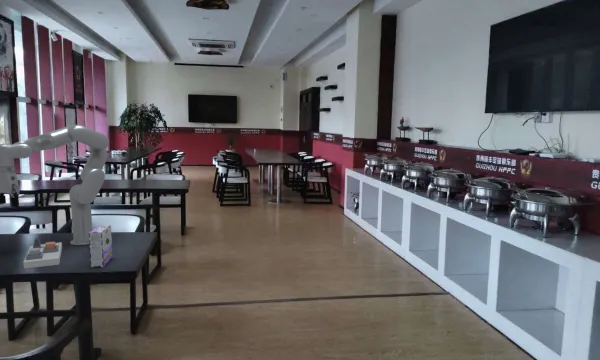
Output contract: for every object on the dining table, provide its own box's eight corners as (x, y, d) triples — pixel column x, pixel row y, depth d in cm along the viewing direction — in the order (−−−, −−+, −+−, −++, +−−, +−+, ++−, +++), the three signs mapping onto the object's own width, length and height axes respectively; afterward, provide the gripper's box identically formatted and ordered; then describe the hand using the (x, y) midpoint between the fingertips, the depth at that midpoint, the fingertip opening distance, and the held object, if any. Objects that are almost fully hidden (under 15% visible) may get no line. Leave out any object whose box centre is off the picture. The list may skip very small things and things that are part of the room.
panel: (62, 248, 237) (61, 239, 237) (59, 264, 210) (58, 254, 210) (31, 251, 231) (30, 242, 231) (23, 268, 205) (23, 258, 204)
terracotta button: (55, 246, 224) (55, 241, 224) (55, 248, 221) (54, 243, 220) (46, 247, 223) (46, 242, 222) (45, 249, 219) (45, 244, 219)
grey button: (40, 252, 214) (39, 247, 213) (39, 254, 210) (38, 249, 210) (30, 253, 212) (29, 248, 212) (29, 256, 208) (28, 250, 208)
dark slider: (41, 245, 230) (40, 237, 229) (40, 247, 225) (39, 239, 225) (34, 246, 229) (33, 238, 228) (33, 248, 224) (32, 240, 224)
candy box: (100, 258, 220) (98, 224, 218) (113, 258, 220) (111, 224, 218) (90, 267, 206) (88, 231, 204) (103, 267, 207) (101, 231, 205)
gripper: (24, 169, 220) (28, 204, 222) (1, 168, 227) (5, 202, 230) (9, 171, 213) (13, 207, 216) (-14, 169, 220) (-11, 204, 223)
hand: (8, 204), depth 223 cm, fingers open, 9 cm apart
